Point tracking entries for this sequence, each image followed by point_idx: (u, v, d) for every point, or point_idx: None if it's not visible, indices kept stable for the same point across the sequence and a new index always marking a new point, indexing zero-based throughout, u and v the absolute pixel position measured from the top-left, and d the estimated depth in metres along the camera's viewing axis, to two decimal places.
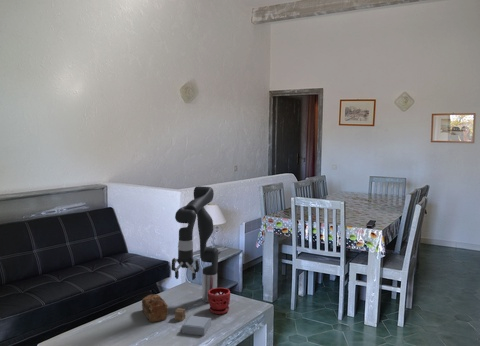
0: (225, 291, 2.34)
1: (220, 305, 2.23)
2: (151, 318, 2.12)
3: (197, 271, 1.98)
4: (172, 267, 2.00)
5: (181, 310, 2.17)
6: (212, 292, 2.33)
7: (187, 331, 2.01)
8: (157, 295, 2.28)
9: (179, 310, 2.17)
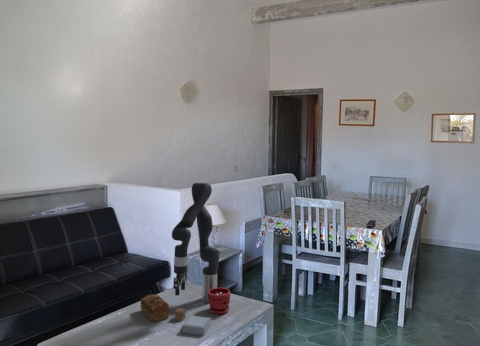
0: (225, 291, 2.34)
1: (220, 305, 2.23)
2: (153, 318, 2.13)
3: (186, 280, 2.23)
4: (178, 286, 2.10)
5: (181, 310, 2.17)
6: (212, 292, 2.33)
7: (187, 331, 2.01)
8: (156, 295, 2.28)
9: (179, 310, 2.17)
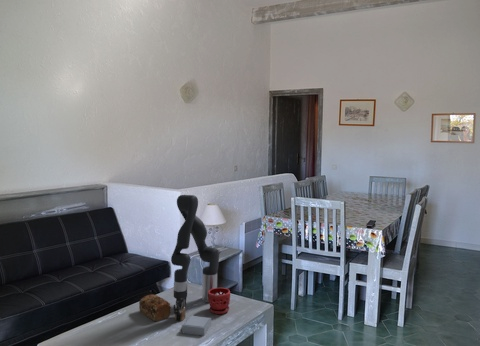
0: (225, 291, 2.34)
1: (220, 305, 2.23)
2: (156, 317, 2.13)
3: (185, 306, 2.22)
4: (178, 311, 2.12)
5: (181, 310, 2.17)
6: (212, 292, 2.33)
7: (187, 331, 2.01)
8: (154, 295, 2.28)
9: None
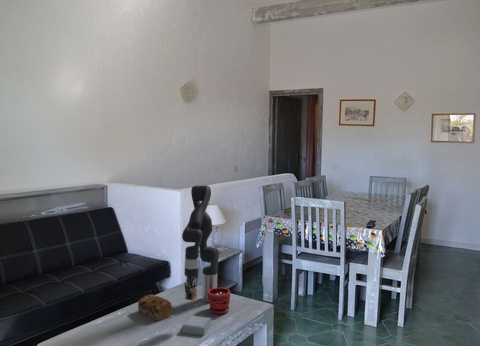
0: (225, 291, 2.34)
1: (220, 305, 2.23)
2: (158, 317, 2.14)
3: (196, 286, 2.12)
4: (189, 290, 2.02)
5: (192, 289, 2.07)
6: (212, 292, 2.33)
7: (187, 331, 2.01)
8: (153, 295, 2.28)
9: None
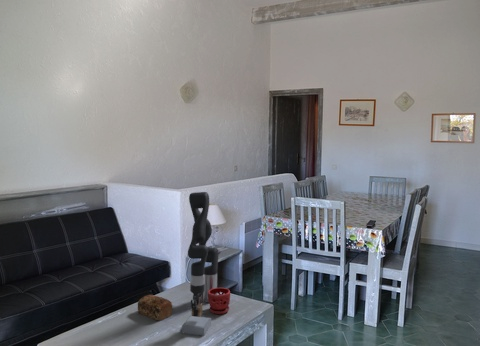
0: (225, 291, 2.34)
1: (220, 305, 2.23)
2: (160, 317, 2.14)
3: (202, 301, 2.10)
4: (196, 307, 2.00)
5: (198, 305, 2.05)
6: (212, 292, 2.33)
7: (187, 331, 2.01)
8: (152, 295, 2.28)
9: None
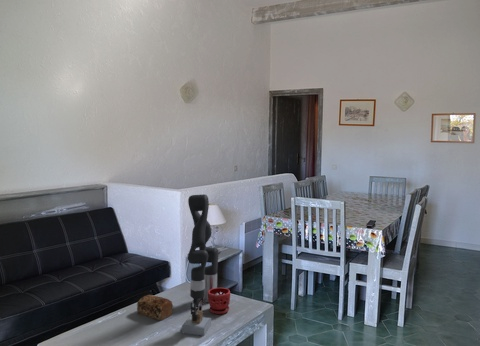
0: (225, 291, 2.34)
1: (220, 305, 2.23)
2: (161, 316, 2.15)
3: None
4: (195, 311, 1.99)
5: (198, 312, 2.05)
6: (212, 292, 2.33)
7: (187, 331, 2.01)
8: (151, 295, 2.28)
9: None
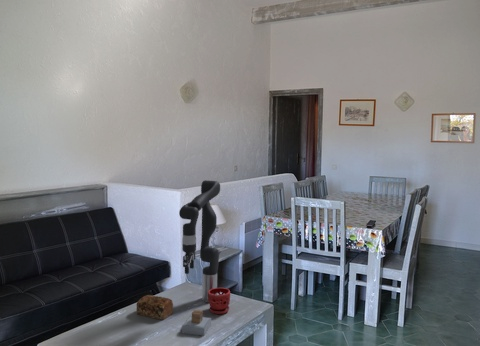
0: (225, 291, 2.34)
1: (220, 305, 2.23)
2: (163, 316, 2.15)
3: None
4: (187, 264, 2.09)
5: (198, 312, 2.05)
6: (212, 292, 2.33)
7: (187, 331, 2.01)
8: (150, 295, 2.28)
9: (196, 312, 2.05)
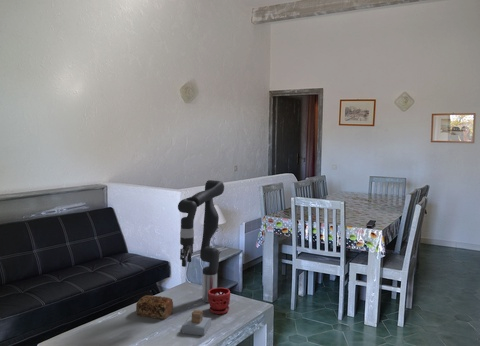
0: (225, 291, 2.34)
1: (220, 305, 2.23)
2: (165, 315, 2.16)
3: (192, 252, 2.25)
4: (184, 257, 2.12)
5: (198, 312, 2.05)
6: (212, 292, 2.33)
7: (187, 331, 2.01)
8: None
9: (196, 312, 2.05)
